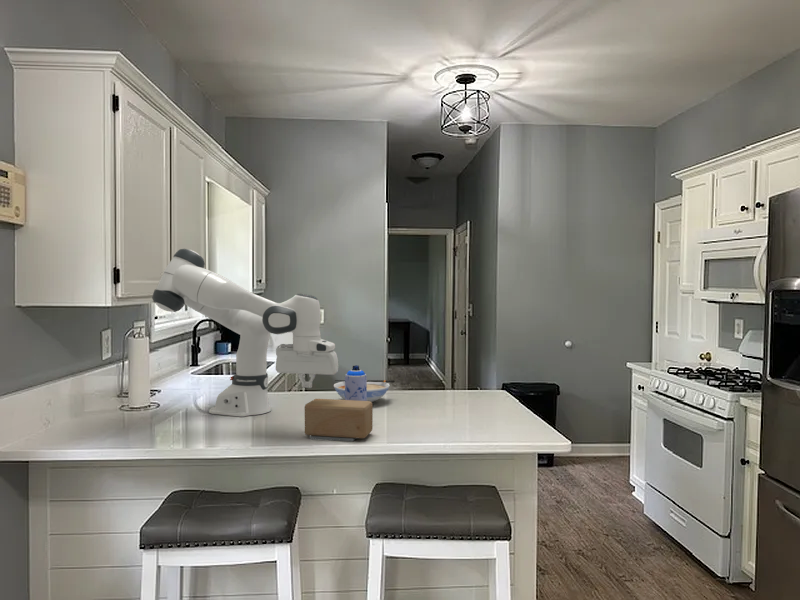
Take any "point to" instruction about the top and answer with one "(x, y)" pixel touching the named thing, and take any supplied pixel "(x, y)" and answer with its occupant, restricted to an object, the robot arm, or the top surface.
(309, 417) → the wooden block
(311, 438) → the mat
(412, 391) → the top surface
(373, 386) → the ramen bowl
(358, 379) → the aerosol can
